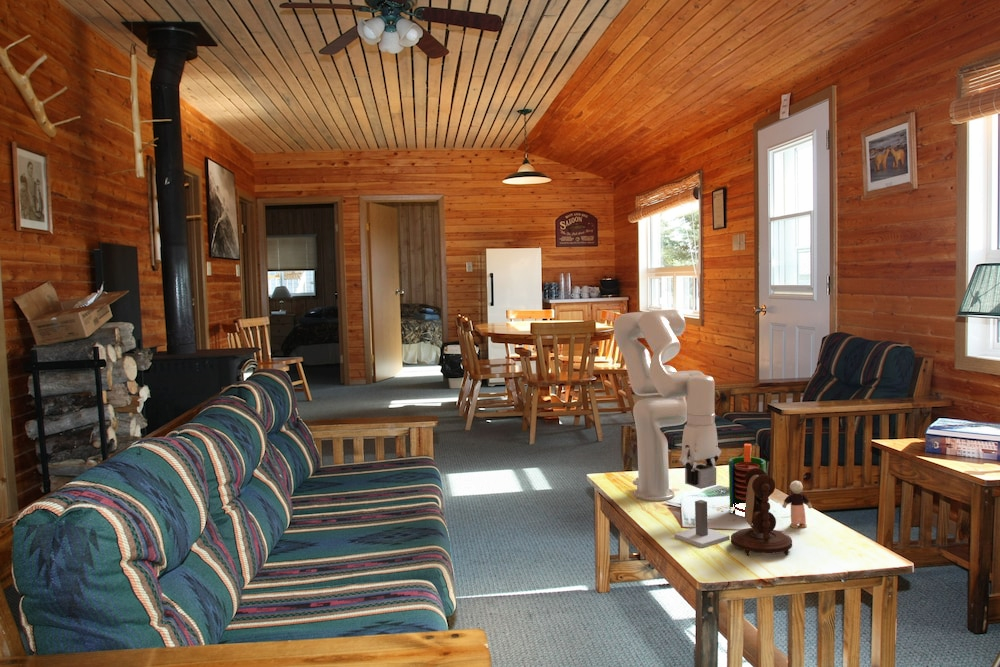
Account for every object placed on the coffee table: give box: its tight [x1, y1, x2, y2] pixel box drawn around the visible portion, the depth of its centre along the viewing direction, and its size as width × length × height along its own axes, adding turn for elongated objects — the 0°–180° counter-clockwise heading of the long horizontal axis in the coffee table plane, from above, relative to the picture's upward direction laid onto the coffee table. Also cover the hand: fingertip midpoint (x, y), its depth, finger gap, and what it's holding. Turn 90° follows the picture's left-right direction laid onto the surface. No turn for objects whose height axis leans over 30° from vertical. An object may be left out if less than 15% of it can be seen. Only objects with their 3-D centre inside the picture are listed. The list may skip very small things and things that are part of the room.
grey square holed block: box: [684, 462, 717, 490], centre depth 211 cm, size 6×6×5 cm
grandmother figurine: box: [781, 480, 813, 529], centre depth 205 cm, size 8×4×13 cm, turn 97°
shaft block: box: [674, 499, 731, 548], centre depth 199 cm, size 10×10×10 cm
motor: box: [728, 443, 767, 512], centre depth 218 cm, size 10×9×20 cm
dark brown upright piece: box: [730, 468, 793, 557], centre depth 190 cm, size 15×15×20 cm
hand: (700, 481), depth 211 cm, fingers closed on grey square holed block, 6 cm apart
